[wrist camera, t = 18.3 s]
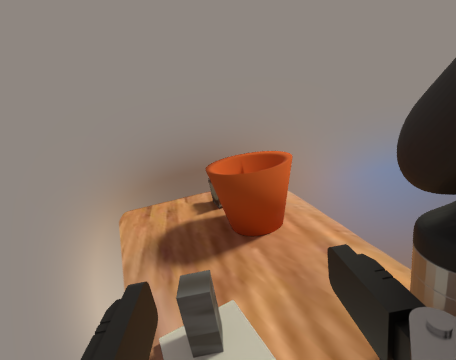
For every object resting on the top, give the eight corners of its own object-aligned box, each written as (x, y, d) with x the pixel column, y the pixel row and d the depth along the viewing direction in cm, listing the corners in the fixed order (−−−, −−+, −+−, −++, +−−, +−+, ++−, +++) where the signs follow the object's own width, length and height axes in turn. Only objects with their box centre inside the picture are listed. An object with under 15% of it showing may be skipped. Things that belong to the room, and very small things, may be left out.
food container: (236, 205, 90) (232, 180, 87) (221, 210, 88) (216, 184, 85) (225, 196, 101) (221, 174, 98) (212, 200, 100) (207, 177, 97)
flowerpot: (214, 214, 85) (203, 161, 80) (280, 200, 88) (274, 147, 82) (223, 253, 61) (208, 181, 56) (314, 232, 64) (308, 161, 58)
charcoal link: (195, 330, 40) (180, 275, 37) (222, 325, 40) (209, 270, 37) (193, 357, 35) (176, 298, 32) (223, 351, 35) (209, 291, 32)
